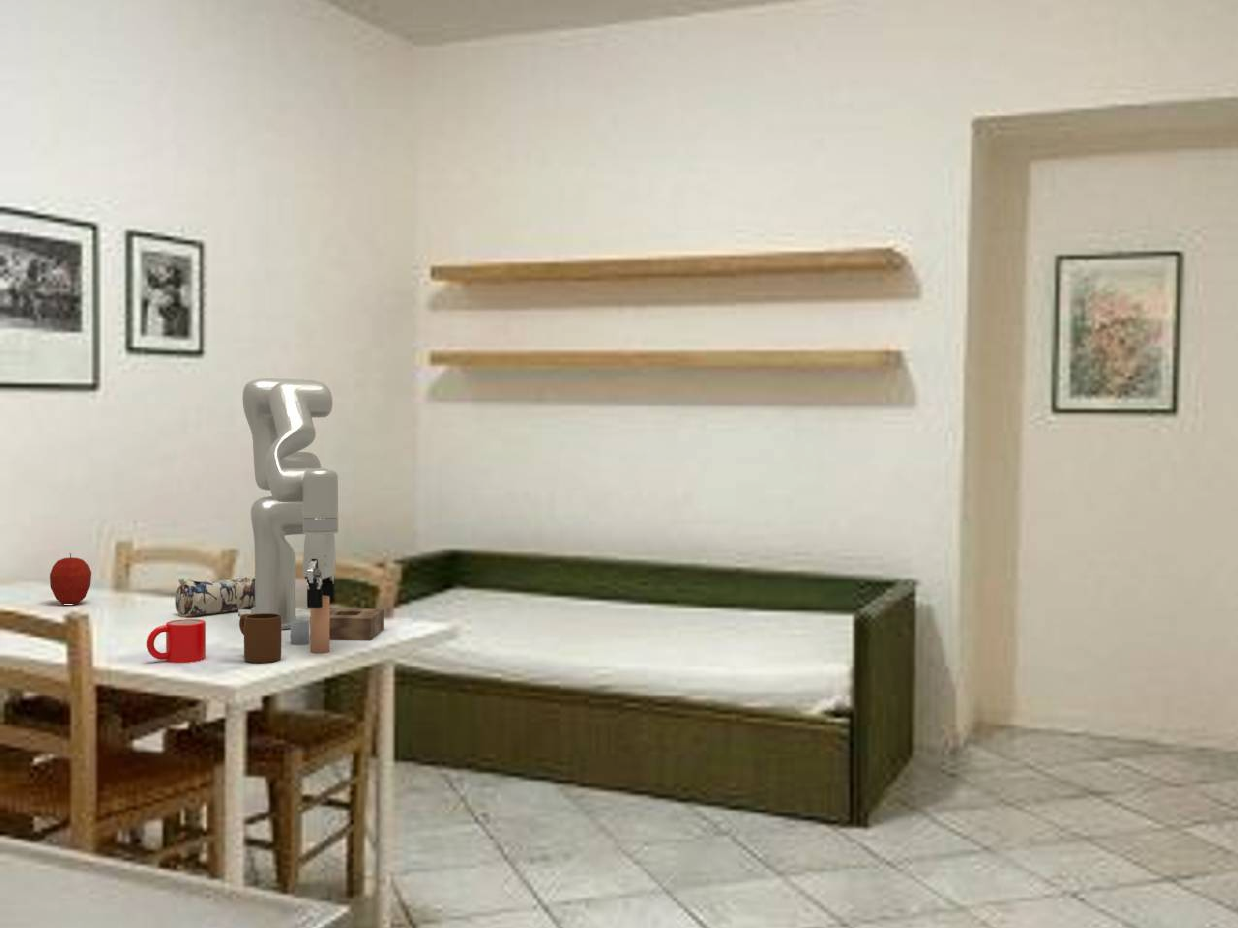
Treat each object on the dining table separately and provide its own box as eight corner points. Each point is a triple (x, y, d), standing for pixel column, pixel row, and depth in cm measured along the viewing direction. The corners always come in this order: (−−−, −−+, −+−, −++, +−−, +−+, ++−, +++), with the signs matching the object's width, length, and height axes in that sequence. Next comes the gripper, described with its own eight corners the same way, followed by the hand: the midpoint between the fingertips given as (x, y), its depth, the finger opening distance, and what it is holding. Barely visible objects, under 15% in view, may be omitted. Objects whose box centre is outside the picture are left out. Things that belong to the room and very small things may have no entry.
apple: (97, 604, 328) (97, 552, 327) (58, 608, 321) (58, 555, 320) (82, 600, 335) (82, 549, 335) (44, 604, 328) (43, 552, 327)
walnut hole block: (310, 639, 283) (310, 617, 283) (326, 628, 297) (326, 607, 297) (370, 640, 283) (370, 618, 283) (383, 629, 297) (384, 608, 297)
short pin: (288, 644, 276) (288, 622, 276) (293, 641, 280) (293, 619, 280) (306, 645, 276) (306, 622, 276) (310, 641, 280) (311, 619, 280)
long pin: (308, 652, 267) (308, 597, 267) (313, 649, 271) (313, 595, 271) (326, 653, 267) (326, 598, 266) (331, 649, 271) (331, 595, 270)
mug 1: (140, 660, 257) (140, 623, 256) (197, 654, 265) (197, 617, 264) (154, 667, 251) (154, 628, 250) (211, 659, 258) (211, 622, 258)
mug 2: (225, 657, 261) (225, 613, 261) (256, 652, 267) (256, 609, 267) (257, 665, 253) (257, 620, 253) (288, 660, 259) (288, 615, 259)
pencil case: (189, 619, 308) (189, 580, 308) (172, 615, 314) (172, 577, 313) (266, 610, 324) (266, 573, 324) (249, 606, 330) (249, 570, 329)
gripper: (314, 523, 276) (314, 599, 277) (291, 529, 259) (292, 610, 259) (347, 523, 276) (347, 599, 277) (327, 529, 259) (327, 610, 259)
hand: (320, 604), depth 268 cm, fingers open, 9 cm apart
